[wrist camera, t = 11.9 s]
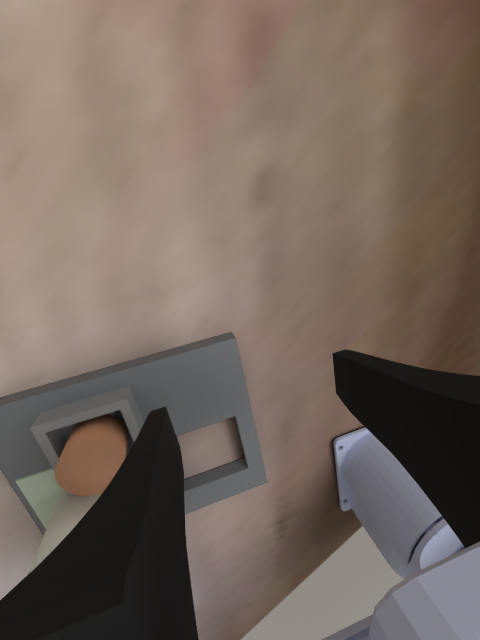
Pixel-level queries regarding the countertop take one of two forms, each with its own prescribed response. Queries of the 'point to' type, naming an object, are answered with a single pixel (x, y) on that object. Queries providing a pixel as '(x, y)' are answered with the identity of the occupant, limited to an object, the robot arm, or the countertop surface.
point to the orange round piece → (92, 455)
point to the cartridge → (63, 522)
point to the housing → (132, 419)
